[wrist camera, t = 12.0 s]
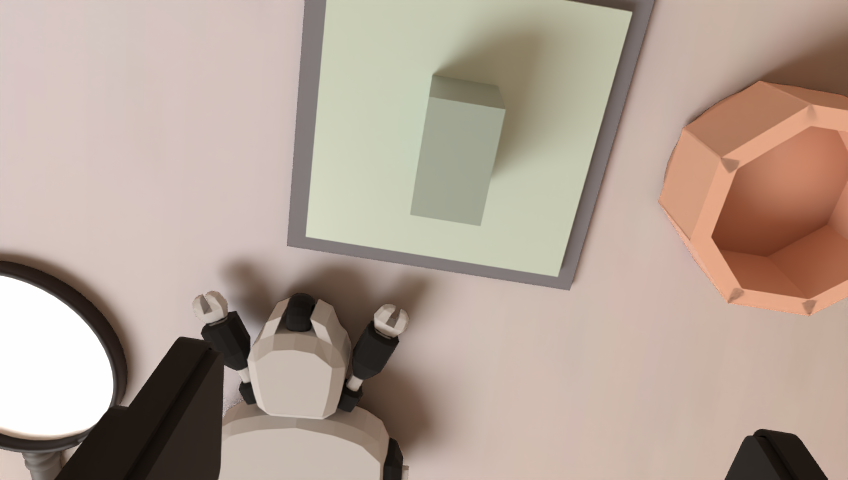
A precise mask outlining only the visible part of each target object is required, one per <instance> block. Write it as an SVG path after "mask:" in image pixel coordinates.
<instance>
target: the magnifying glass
mask: <svg viewBox="0 0 848 480" xmlns="http://www.w3.org/2000/svg"><path fill="white" fill-rule="evenodd" d="M126 385H127V365H126V359H125V355H124V352H123V348H122V346H121V344H120V341H119V339H118V337H117V335H116V333H115V332H114V330H113V328H112V327H111V325H110V324H109V322H108V321H107V320H106V318H105V317H104V316H103V314H102V313H101V312H100V311H99V310H98V309H97V308H96V307H95V306H94V305H93V304H92V303H91V302H90V301H89V300H88V299H86V298H85V297H84V296H83V295H82V294H81V293H79V292H78V291H76V290H75V289H74V288H72V287H71V286H69V285H68V284H66V283H64V282H63V281H61V280H59V279H57V278H55V277H54V276H51V275H49V274H47V273H45V272H42V271H40V270H37V269H34V268H31V267H28V266H25V265H21V264H17V263H12V262H6V261H0V449H3V450H9V451H14V452H21V453H22V455H23V458H24V459H25V466H26V467H27V468H28V469H29V470H30V473H31V476H32V480H54V479H55V478H56V476H57V475H58V474H59V473H60V471H61V470H62V468H61V464H60V460H59V459H60V456H61V453H60V451H62V450H66V449H69V448H72V447H75V446H77V445H79V444H80V443H81V442H83V441H84V439H85V438H86V437H87V436H88V434H89V433H90V432H91V430H92V429H93V428H94V426H95V425H96V424H97V422H98V421H99V420H100V418H101V417H102V416H103V414H104V413H105V412H106V411H107V410H108V409H109V408H110V407H112V406H114V405H118V406H119V405H120V403H121V401H122V398H123V396H124V394H125V389H126Z"/></svg>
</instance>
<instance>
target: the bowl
mask: <svg viewBox="0 0 848 480" xmlns="http://www.w3.org/2000/svg"><path fill="white" fill-rule="evenodd" d="M682 129H683V130H682V133H681V136H680V139H679V141H678V143H677V144H676V146H675V148H674V150H673V152H672V154H671V156H670V159H669V161H668V164H667V168H666V172H665V177H664V185H663V189H662V192H661V195H660V198H659V200H658V202H659V204H660V205H661V206H662V208H663V210H664V211H665V213H666V214H667V216H668V218H669V219H670V221H671V223H672V225H673V227H674V228H675V229H676V231H677V232H678V234H679V236H680V237H681V239H682V240H683V242H684V244H685V245H686V247H687V248H688V250H689V252H690V253H691V255H692V257H693V259H694V260H695V261H696V263H697V264H698V265H699V267H700V268H701V269H702V270H703V272H704V273H705V274H706V276H707V277H708V278H709V280H710V281H711V282H712V284H713V285H714V286H715V287H716V289H717V290H718V291H719V293H720V294H721V295H722V297H723V298H724V299H725V300H726V302H727V303H728V304H729V303H731V304H738V305H744V306H750V307H757V308H763V309H769V310H776V311H782V312H788V313H795V314H801V315H807V316H810V315H812V314H814V313H816V312H818V311H820V310H822V309H824V308H826V307H828V306H830V305H832V304H834V303H836V302H838V301H840V300H842V299H844V298H846V297H848V97H846V96H843V95H840V94H833V93H827V92H822V91H816V90H810V89H805V88H801V87H797V86H791V85H780V84H774V83H768V82H763V81H758V82H757V83H755V84H753V85H752V86H750V87H748V88H747V89H745V90H744V91H741V92H738V93H736V94H733V95H731V96H729V97H727V98H725V99H723V100H721V101H720V102H718V103H716V104H715V105H713V106H712V107H711V108H709V109H708V110H706V111H705V112H704V113H703V114H702V115H700V116H699V117H698V118H697V119H696V120H695V121H694V122H692V123H690V124H689V125H687V126H685V127H683V128H682Z"/></svg>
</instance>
